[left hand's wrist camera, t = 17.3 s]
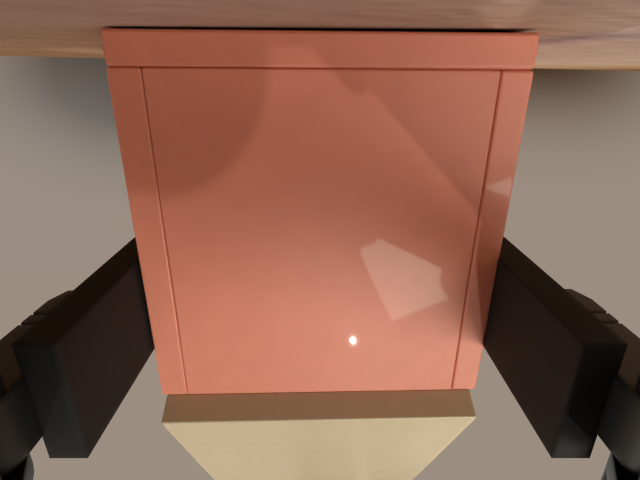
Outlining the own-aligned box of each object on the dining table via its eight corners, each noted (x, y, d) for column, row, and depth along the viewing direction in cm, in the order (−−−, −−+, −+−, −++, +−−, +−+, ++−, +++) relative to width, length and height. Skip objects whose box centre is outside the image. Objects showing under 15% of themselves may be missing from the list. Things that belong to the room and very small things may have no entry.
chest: (399, 60, 21) (387, 228, 25) (225, 59, 21) (237, 229, 25) (542, 32, 9) (475, 389, 12) (98, 28, 8) (161, 395, 12)
